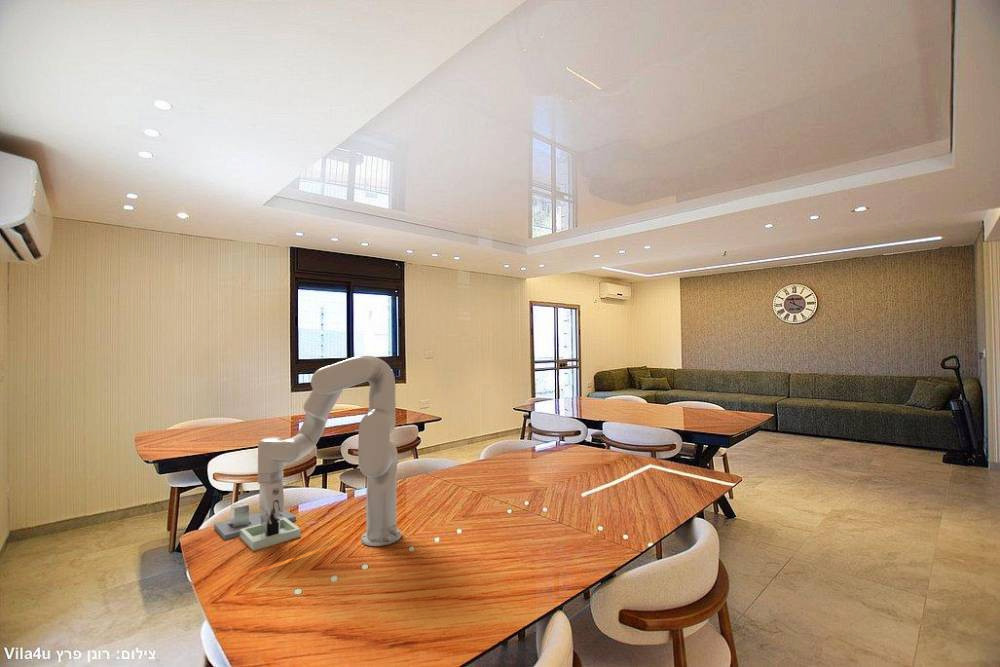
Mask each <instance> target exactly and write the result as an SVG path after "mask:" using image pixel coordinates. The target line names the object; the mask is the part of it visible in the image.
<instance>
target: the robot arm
mask: <svg viewBox="0 0 1000 667" xmlns="http://www.w3.org/2000/svg"><path fill="white" fill-rule="evenodd" d="M395 378H396V377H395V374H394V372H393V370H392V368H391V366H390V365H389V364H388V363H387V362H386V361H384V360H383V359H381V358H380V357H376V356H373V355H357V356H354V357H350V358H347V359H345V360H342V361H338V362H336V363H333V364H331V365H326V366H324V367H321V368H319V369H317V370H316V371H315V372H314V373H313V374H312V376H311V379H310V386H311V388H312V389H311V392H310V394H309V396H308V397H307V399H306V400H305V402H304V404H303V408H302V409H303V410H304V412H305V418H304V421H303V423H302V425H301V427H300V428H299V430H298V431H297V433H296V435H294V436H292V437H289V438H287V439H283V438H282V437H279V436H276V437H275V436H272V437H266V438H262V439H260V440H259V441H258V444H257V484H259V493H258V494H259V495H258V496H259V499H258V504H259V506H258V507H259V509H260V510H261V509H262V510H264V511H265V512H266V514H268V519H269V524H268V528H267V536H272V535H275V534H279V517H280V512H283V511H284V509H285V498H284V497H285V495H284V494H285V493H284V485H283V481H284V476H285V474H284V473H285V472H284V469H285V468H284V467H285V466H284V463H285V464H286V463H287V464H290V463H294V462H297V461H299V460H301V459H302V458H304V457H306V456H307V455H309V454H310V453H311V452H312V451H313V450H314V448H315V447H316V445H317V443H318V442H319V440H320V438H321V437H322V434H323V433H324V430H325V428H326V424H327V422H328V417H329V415H330V414H331V412H332V410H333V408H334V406H335V405H336V403H337V402H338V399H339V397H340V395H341V394H342V393H343V390H345V389H347V388H351V387H353V386H357V385H360V384H363V383H367V382H368V383H369V393H368V413H366V414H365V415H364V416H363V417H362V419H361V420H360V423H359V426H358V441H357V442H358V443H357V445H358V449H357V450H358V451H357V454H358V456H357V457H358V459H357V461H358V467H359V470H360V472H361V473H362V475H364V476H365V477H366V491H365V492H366V498H365V499H366V503H365V504H366V508H365V509H366V515H365V516H366V517H365V518H366V520H365V521H366V522H365V524H366V528H365V530H366V531H365V532H364V533H363V534H362V535H361V542H362V544H364V545H366V546H370V547H384V546H388V545H391V544H393V543H396V542H398V541H400V539H401V537H402V531H401V530H400V529H399V528H398V525H397V489H398V488H397V484H398V483H397V475H398V474H397V473H398V462H399V456H398V455H399V452H398V448H397V447H396V445H395V444H394V443H393V442H392V441H391V434H392V432H394V431H395V428H396V425H397V424H396V423H397V422H396V420H397V419H396V418H397V417H396V405H397V404H396V379H395ZM279 510H280V512H279ZM272 511H274V513H271V512H272ZM272 515H274V517H272V519H271V516H272Z"/></svg>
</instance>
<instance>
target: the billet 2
mask: <svg viewBox="0 0 1000 667" xmlns="http://www.w3.org/2000/svg"><path fill="white" fill-rule="evenodd" d="M260 512H261V538H265V537H268V536H267V528H268V524H269V519H268V514H266V512H265V511H264V510H262V509H260ZM279 512H280V510H279ZM271 513H274V511H272V512H271ZM272 517H274V515H272V516H271V519H272ZM279 533H280V517H279Z"/></svg>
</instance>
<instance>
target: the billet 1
mask: <svg viewBox="0 0 1000 667" xmlns="http://www.w3.org/2000/svg"><path fill="white" fill-rule="evenodd" d="M249 515H250V504H249V503H247V502H246V501H243V502H239V503H233V504H230V520H231V529H235V528H238V527H242V526H246V525H249Z"/></svg>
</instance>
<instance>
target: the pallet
mask: <svg viewBox="0 0 1000 667" xmlns="http://www.w3.org/2000/svg"><path fill="white" fill-rule="evenodd" d="M281 518H287V519H288V520H289V521H291V522H292V523H293V522H296V521H297V517H296V515H294V514H293V513H291V511H288V510H287V509H286V508H284V511H283V512H280V519H281ZM258 524H261V511H260V512H256V513H251V514H249V525H246V526H242V527H238V528H235V529H231V519H228V520H223V521H219V522H215V523H213V531H216V532H217V533H218V534H219V535H220V537H221V538H222V539H223V540H224V541H227V540H231V539H235V538H240V529H243V528H247V527H251V526H255V525H258Z"/></svg>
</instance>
